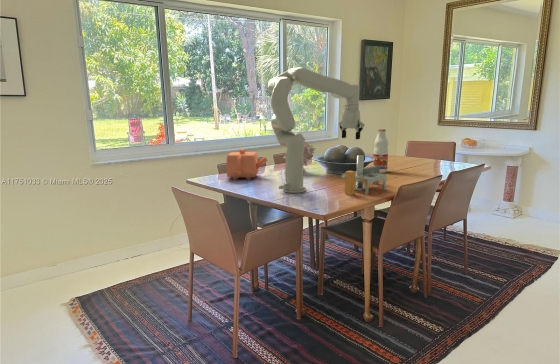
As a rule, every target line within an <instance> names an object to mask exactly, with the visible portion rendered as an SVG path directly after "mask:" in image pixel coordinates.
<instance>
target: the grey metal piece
mask: <svg viewBox="0 0 560 364" xmlns="http://www.w3.org/2000/svg"><path fill="white" fill-rule="evenodd" d="M364 161H365V155H363V154H358V155H356V170H355V190H357V191H360V192H361V191H364V190H365V192H364V193H365V195H369V190H370V189H371V188H370V183H373V182H374V181H379V182H380V181H382V190H384V191H385V190H386V189H387V174H384V173H379V174H378V173H373V172H369V173H365V174H363V168H365V167H364V165H365V163H364ZM341 179H345V173H342V174H341ZM364 183H365V184H364Z"/></svg>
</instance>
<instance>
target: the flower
mask: <svg viewBox="0 0 560 364" xmlns="http://www.w3.org/2000/svg"><path fill="white" fill-rule="evenodd" d="M304 139H305V137H304ZM305 140H306V139H305ZM315 151H316V148H315V147H314V145H312V144H311V145H310V144H309V143H308V142H307V141H305V146H304V153H303V172H306V173H307V169H306V168H305V167H307V166H308V162H309V160H310V159H309V158H308V157H310V156H313V154H315ZM285 156H286V152H285V153H284V156H283V157H282V159H285ZM304 166H305V167H304Z"/></svg>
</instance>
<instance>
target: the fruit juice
mask: <svg viewBox="0 0 560 364" xmlns="http://www.w3.org/2000/svg"><path fill="white" fill-rule="evenodd" d="M386 132H387V131H386V129H385V128H378V129H377V134H376V137H375V139H374V143H373V145H374V148H373V152H372V153H373V155H372V156H373V157H372V166H380V171H379V174H384V173H387V172H388V161H389V149H388V146H389V140H388V138H387V136H386ZM373 159H375V160H376V159H377V160H376V161H373Z"/></svg>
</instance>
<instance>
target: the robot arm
mask: <svg viewBox="0 0 560 364" xmlns="http://www.w3.org/2000/svg"><path fill="white" fill-rule="evenodd" d="M267 83H268V84H267V88H268V90H269V92H270V93H271V97H270V106H271V109H272V111H273V115H272V117H271V120H270V123H271V128H272V131H273V132H274V136H275V138H276V139H277V142H278V143H279V145H280V146H281V147H282V148H285V149H286V152H285V153H286V156H285V155H284V156H285V158H284V159H285V163H284V164H285V182H283V184H282V185H279V186H278V190H282V192H284V193H289V194H299V193H304V192H306V191H307V187H305V186H304V171H303V167H304V165H303V153H304V152H305V151H304V146H306V145H305V142H306V139H304V138H305V137H304V136H303V134H302V133H300V132H298V131H294V129H295V127H296V120H295V118H294V115H293V113H292V109H291V108H290V105H289V102H288V101H289V100H288V97H289V94H290V92H291V90H292V88H293V86H295V85H300V86H302V87H305V88H307V89H309V90H310V89H311V90H313V91H316V92H319V93H330V95H331V96H332V97H333V98H334V99H338V100H339V99H341V100H342V99H344V106H343V108H344V110H343V112H342V118H341V121H339V122H338V126H339V129H340V131H341V139H346V138H347V129H352V130H353V129H355V140H360V139H361V132H362V131H363V130H364V127H365V123H363V122H362V121H361V111H360V109H359V107H360V85H358V84H350V83H349V82H346V81H343V80H342V79H341V80H340V79H337V78H334V77H330V76H326V75H323V74H320V73H318V72H315V71H313V70H310V69H308V68H306V67H305V68H304V67H301V66H298V67H292V68H290V69H288V70H286V71H284V72H282V73H280V74H278V75H276V76H274V77H273V78H271V79H270V80H269V81H268V82H267Z"/></svg>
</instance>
